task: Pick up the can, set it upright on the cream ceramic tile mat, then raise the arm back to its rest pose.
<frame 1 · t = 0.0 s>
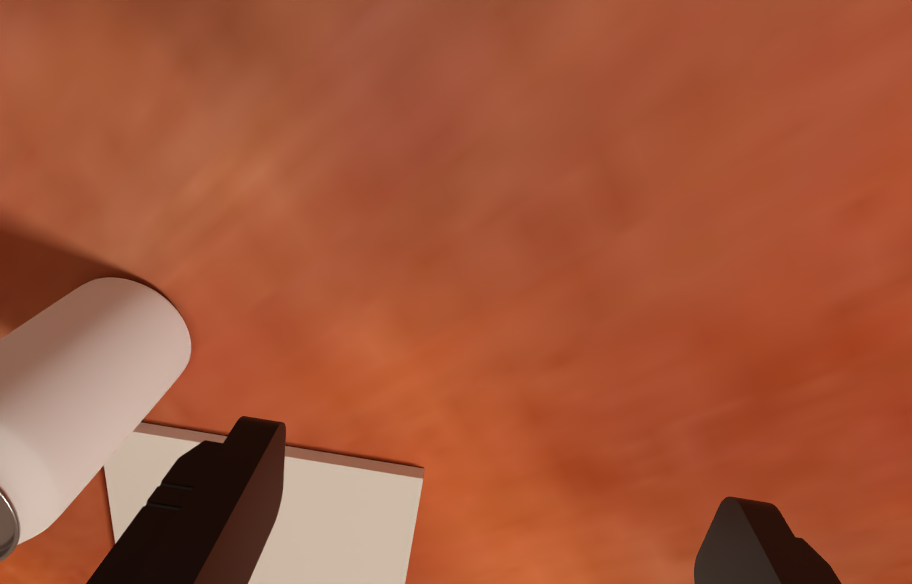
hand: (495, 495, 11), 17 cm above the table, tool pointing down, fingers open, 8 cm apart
can: (135, 328, 30), on the table
tile mat: (264, 553, 37), on the table
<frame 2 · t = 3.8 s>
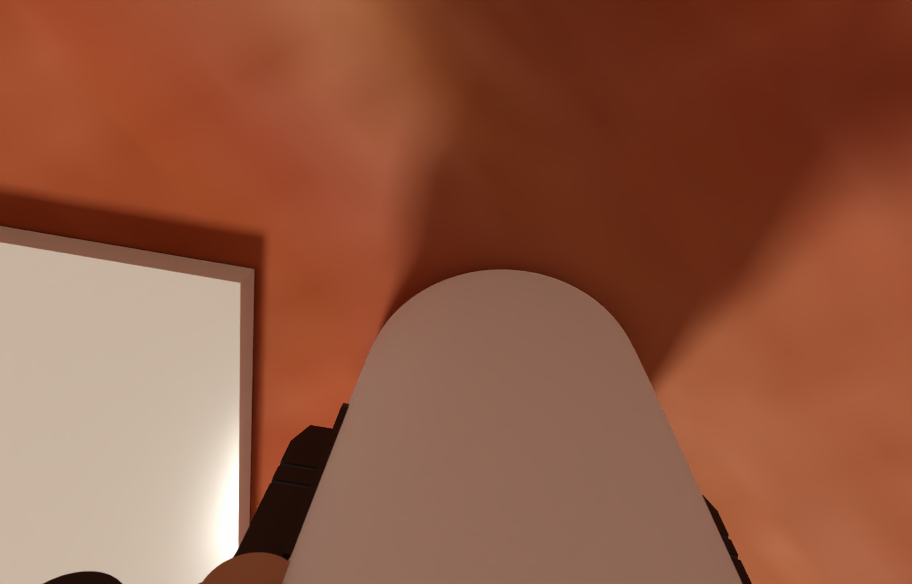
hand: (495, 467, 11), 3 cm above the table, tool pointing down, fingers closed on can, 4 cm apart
can: (500, 382, 14), on the table, touching gripper
when the fingers open (5 cm above the table, at t = 9.3 s): can moves 2 cm, resting on tile mat.
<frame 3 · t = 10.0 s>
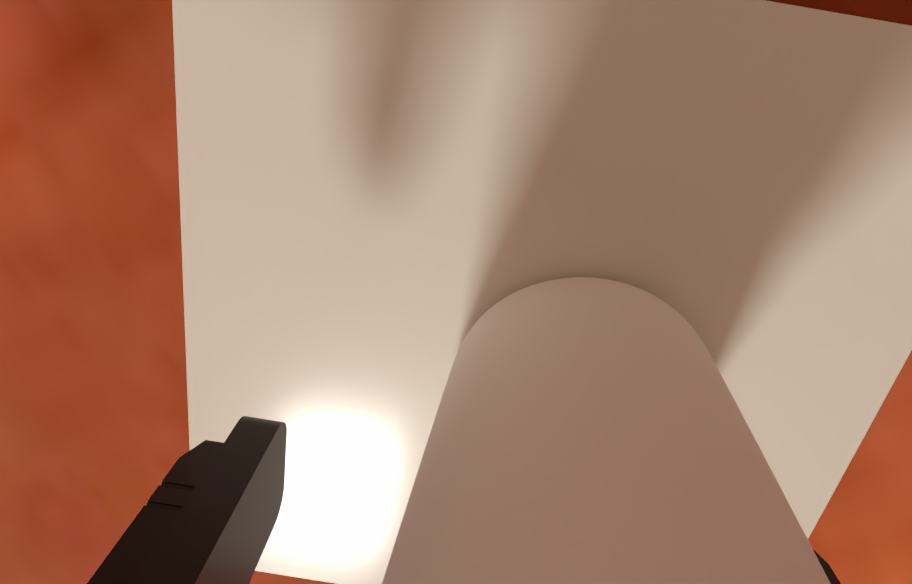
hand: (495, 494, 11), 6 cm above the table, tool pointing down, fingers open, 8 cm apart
can: (577, 384, 15), point 1 cm above the table, touching tile mat
tile mat: (529, 351, 16), on the table
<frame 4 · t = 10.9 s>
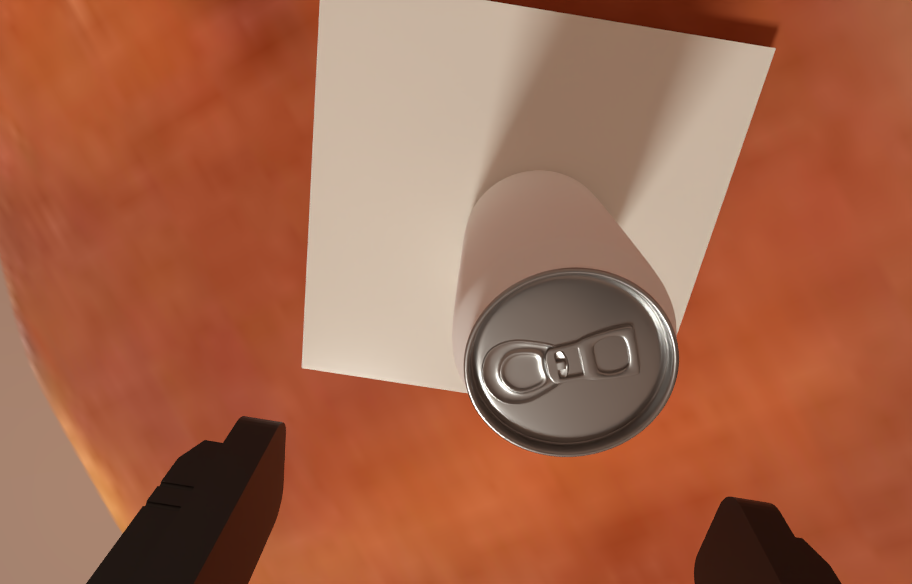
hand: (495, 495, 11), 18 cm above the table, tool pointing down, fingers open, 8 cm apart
can: (534, 238, 27), point 1 cm above the table, touching tile mat
tile mat: (507, 223, 27), on the table
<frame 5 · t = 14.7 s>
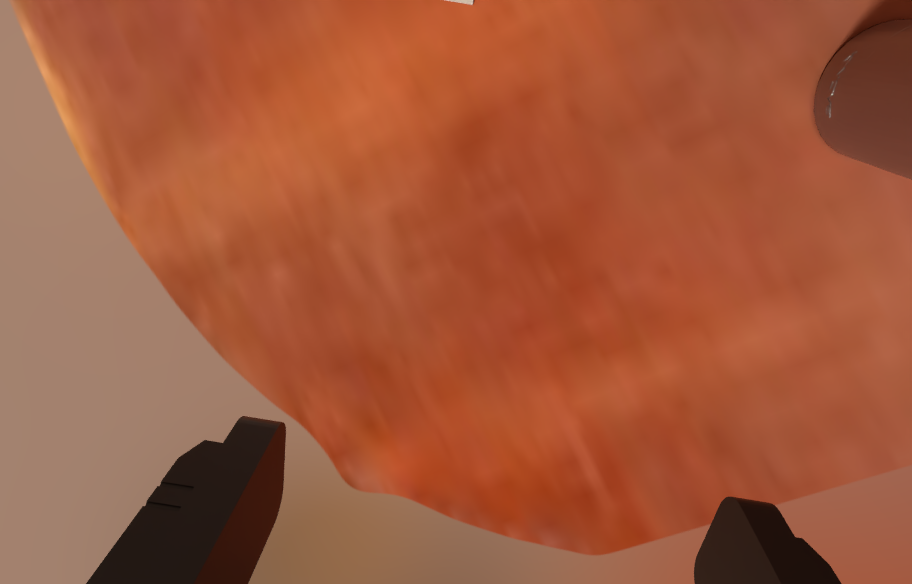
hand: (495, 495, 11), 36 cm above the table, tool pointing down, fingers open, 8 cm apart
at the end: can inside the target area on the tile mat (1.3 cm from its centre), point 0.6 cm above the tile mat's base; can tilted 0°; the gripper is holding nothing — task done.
